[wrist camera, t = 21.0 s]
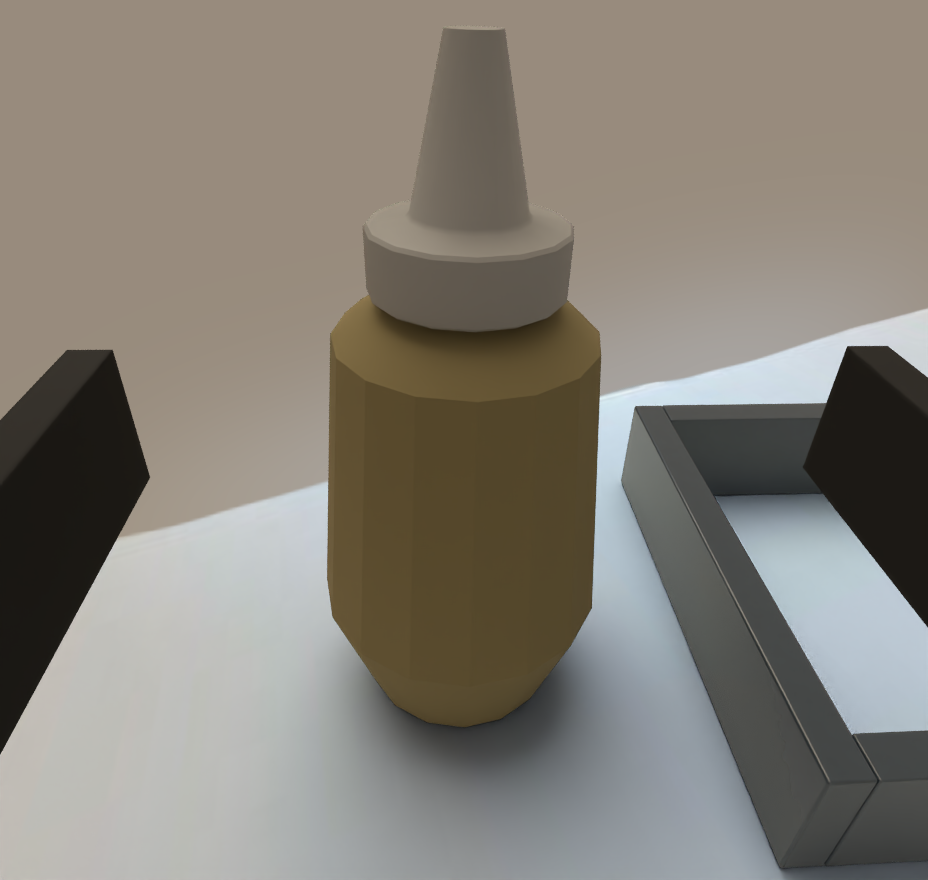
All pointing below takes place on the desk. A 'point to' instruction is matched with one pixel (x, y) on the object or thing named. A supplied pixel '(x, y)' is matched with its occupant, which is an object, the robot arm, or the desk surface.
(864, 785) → the grey open square frame
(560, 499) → the squeeze bottle
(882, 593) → the desk surface
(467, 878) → the desk surface
